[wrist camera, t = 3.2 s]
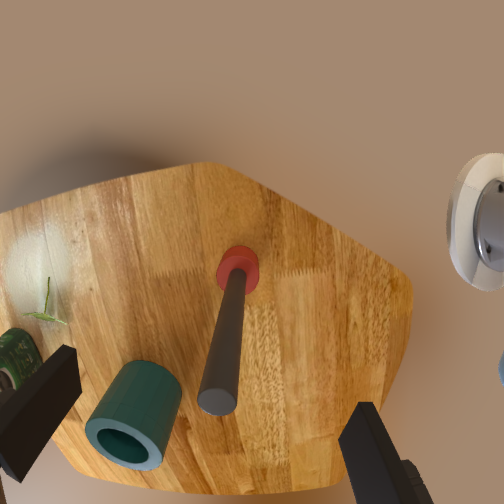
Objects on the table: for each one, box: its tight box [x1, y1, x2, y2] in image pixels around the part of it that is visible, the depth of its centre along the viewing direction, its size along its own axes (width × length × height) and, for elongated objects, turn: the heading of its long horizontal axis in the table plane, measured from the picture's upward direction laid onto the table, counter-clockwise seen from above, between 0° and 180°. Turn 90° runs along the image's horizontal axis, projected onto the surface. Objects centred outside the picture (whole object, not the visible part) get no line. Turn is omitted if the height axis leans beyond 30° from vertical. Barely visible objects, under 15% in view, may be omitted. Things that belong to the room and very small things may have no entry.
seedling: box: [21, 277, 68, 325], centre depth 35 cm, size 7×8×6 cm
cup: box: [85, 360, 182, 471], centre depth 34 cm, size 10×10×13 cm
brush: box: [197, 246, 259, 416], centre depth 24 cm, size 4×4×24 cm
